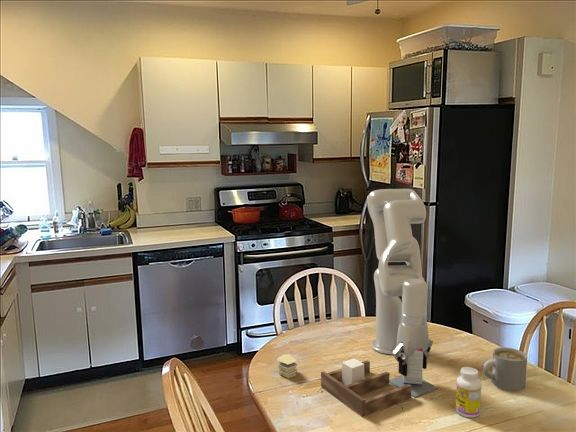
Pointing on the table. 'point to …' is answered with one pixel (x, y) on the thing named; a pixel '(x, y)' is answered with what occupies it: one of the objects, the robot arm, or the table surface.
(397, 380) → the mat
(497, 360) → the coffee mug
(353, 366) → the off-white block
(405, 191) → the robot arm
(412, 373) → the supplement box
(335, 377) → the lane rack
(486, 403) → the table surface
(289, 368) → the beige ridged block
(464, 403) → the supplement bottle
